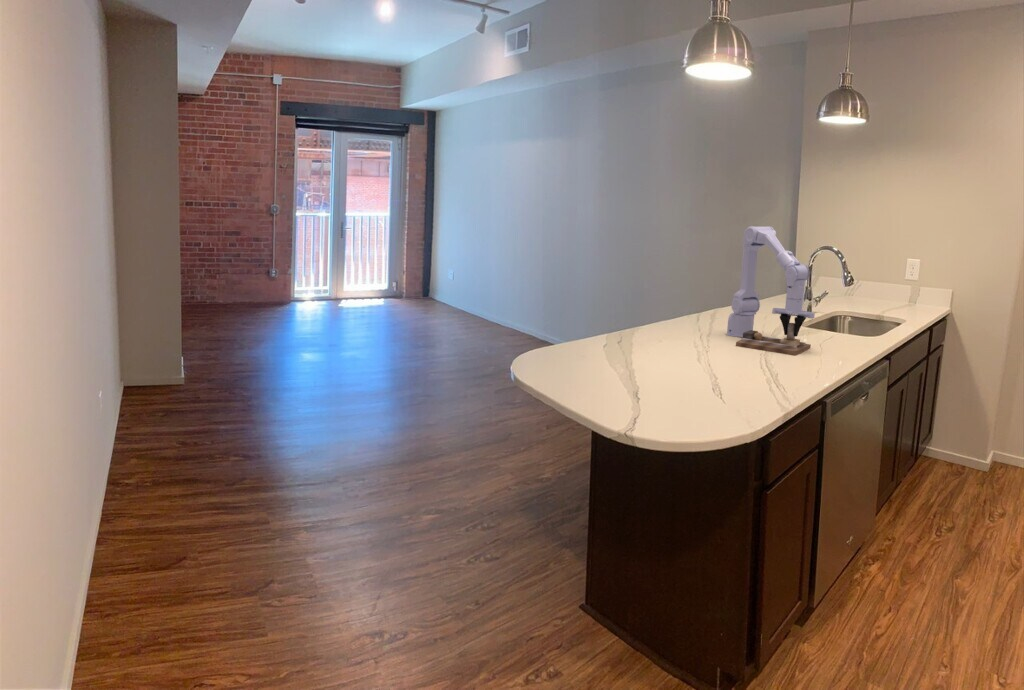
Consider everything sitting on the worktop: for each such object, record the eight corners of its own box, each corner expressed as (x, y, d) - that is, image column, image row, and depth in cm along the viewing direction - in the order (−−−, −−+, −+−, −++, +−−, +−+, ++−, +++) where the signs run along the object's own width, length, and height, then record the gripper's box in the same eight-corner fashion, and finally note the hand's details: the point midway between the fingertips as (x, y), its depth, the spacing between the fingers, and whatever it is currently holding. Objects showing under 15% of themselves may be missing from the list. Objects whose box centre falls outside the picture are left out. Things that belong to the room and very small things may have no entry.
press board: (735, 345, 269) (736, 333, 268) (752, 339, 281) (753, 327, 280) (795, 355, 256) (796, 342, 255) (810, 348, 268) (811, 336, 267)
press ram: (780, 345, 264) (782, 323, 262) (785, 342, 268) (788, 321, 266) (793, 347, 261) (796, 325, 259) (799, 344, 265) (801, 323, 263)
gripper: (770, 297, 262) (767, 333, 265) (811, 302, 253) (807, 339, 256) (777, 295, 268) (774, 331, 270) (818, 299, 258) (813, 336, 261)
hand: (790, 335), depth 264 cm, fingers closed on press ram, 3 cm apart
